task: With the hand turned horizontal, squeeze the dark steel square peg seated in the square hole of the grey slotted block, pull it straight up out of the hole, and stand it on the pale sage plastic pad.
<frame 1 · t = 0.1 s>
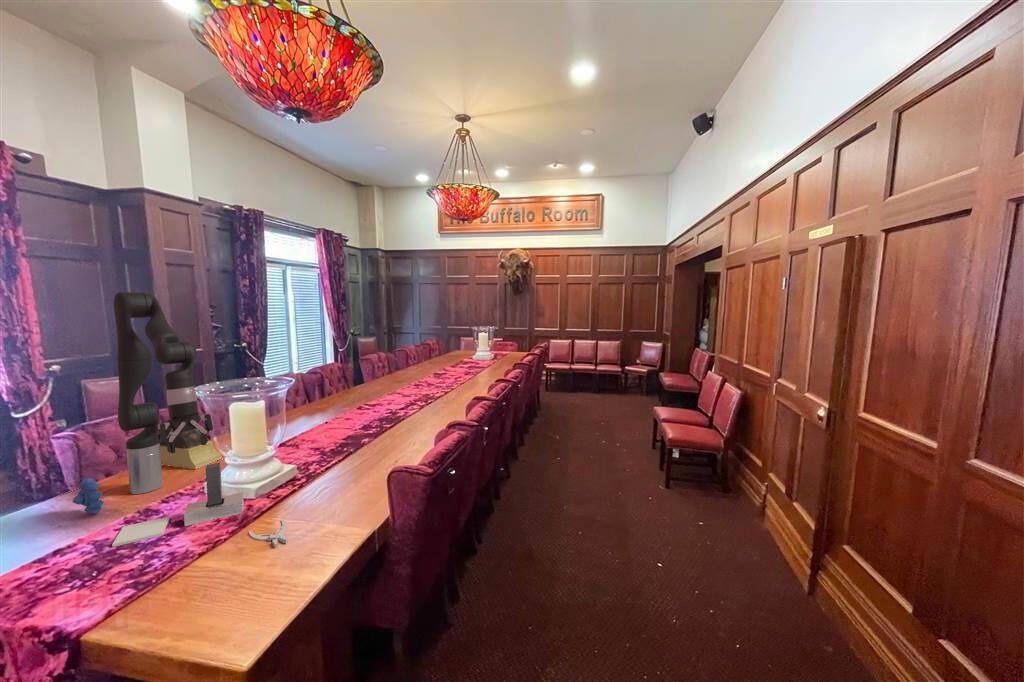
hand: (188, 448, 129), 22 cm above the table, tool pointing down, fingers open, 8 cm apart
sage pad: (142, 532, 119), on the table
seated figure statue: (185, 461, 175), on the table
grapes: (88, 514, 129), on the table
grey slotted block: (215, 514, 130), on the table
steel peg: (214, 489, 129), in the grey slotted block
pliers: (273, 537, 118), on the table
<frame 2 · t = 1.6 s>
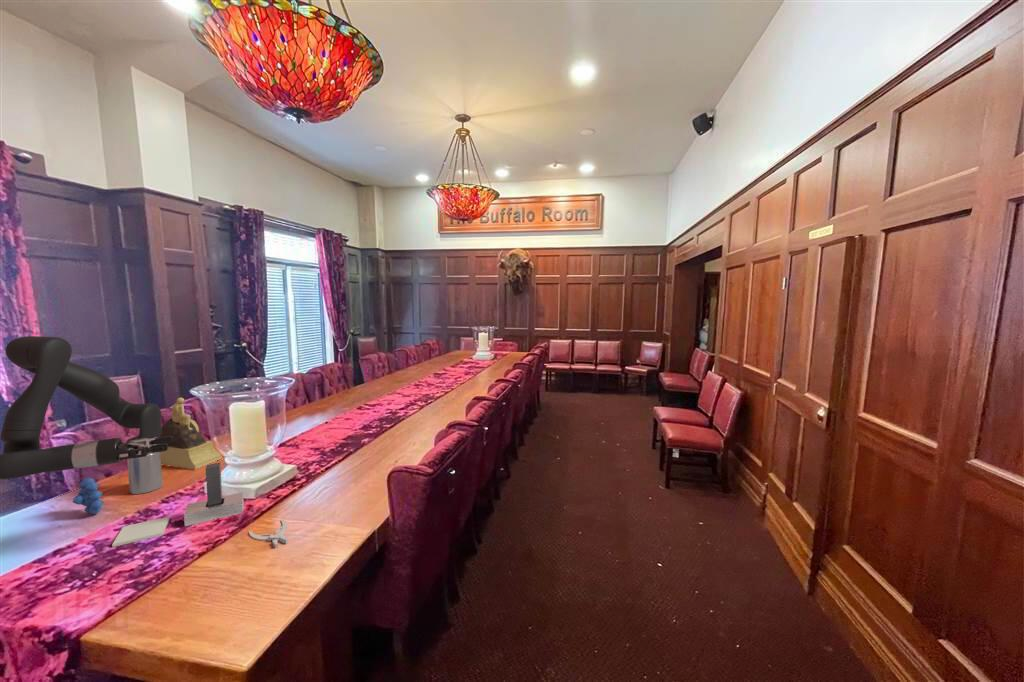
hand: (170, 443, 124), 26 cm above the table, tool horizontal, fingers open, 8 cm apart
nothing on the table moved.
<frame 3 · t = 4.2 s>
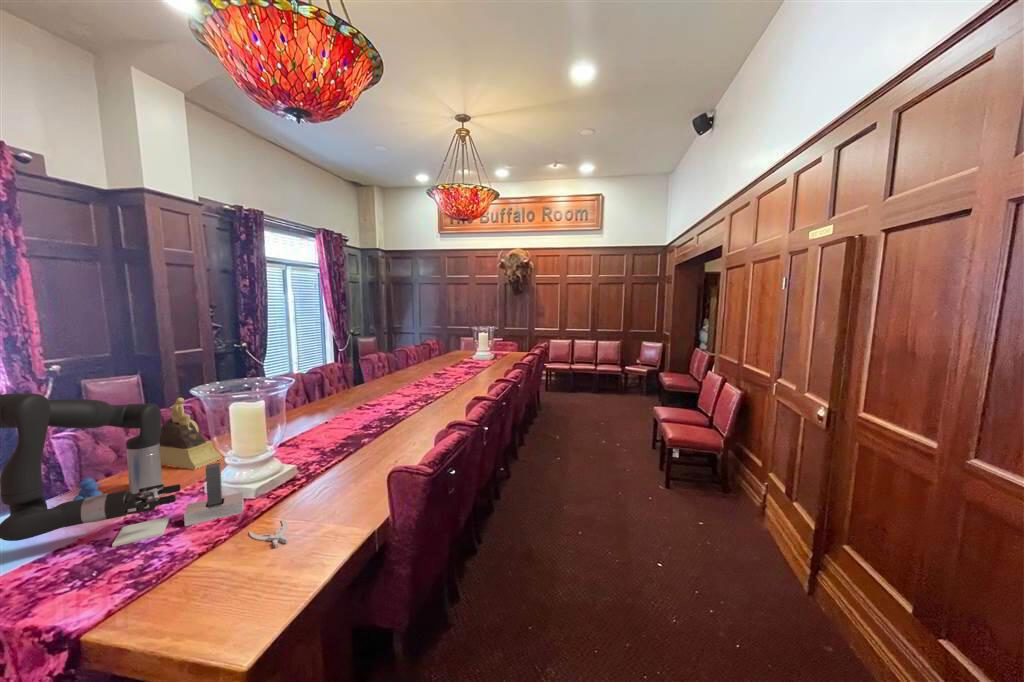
hand: (177, 492, 124), 10 cm above the table, tool horizontal, fingers open, 8 cm apart
nothing on the table moved.
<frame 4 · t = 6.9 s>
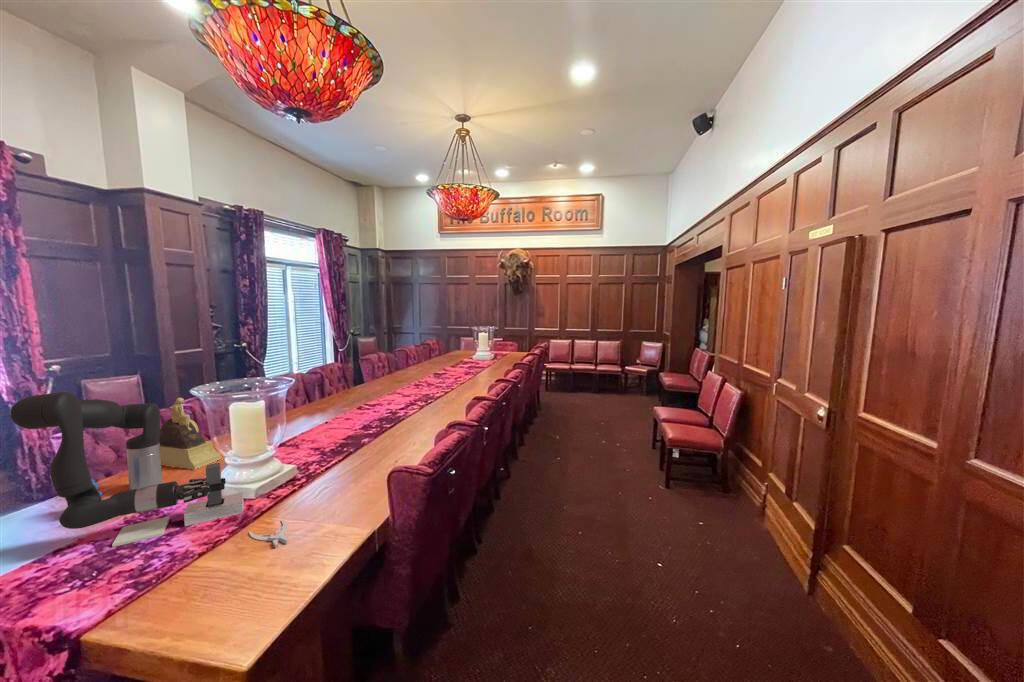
hand: (224, 483, 131), 10 cm above the table, tool horizontal, fingers closed on steel peg, 3 cm apart
steel peg: (214, 489, 129), in the grey slotted block, touching gripper
everything else where it was.
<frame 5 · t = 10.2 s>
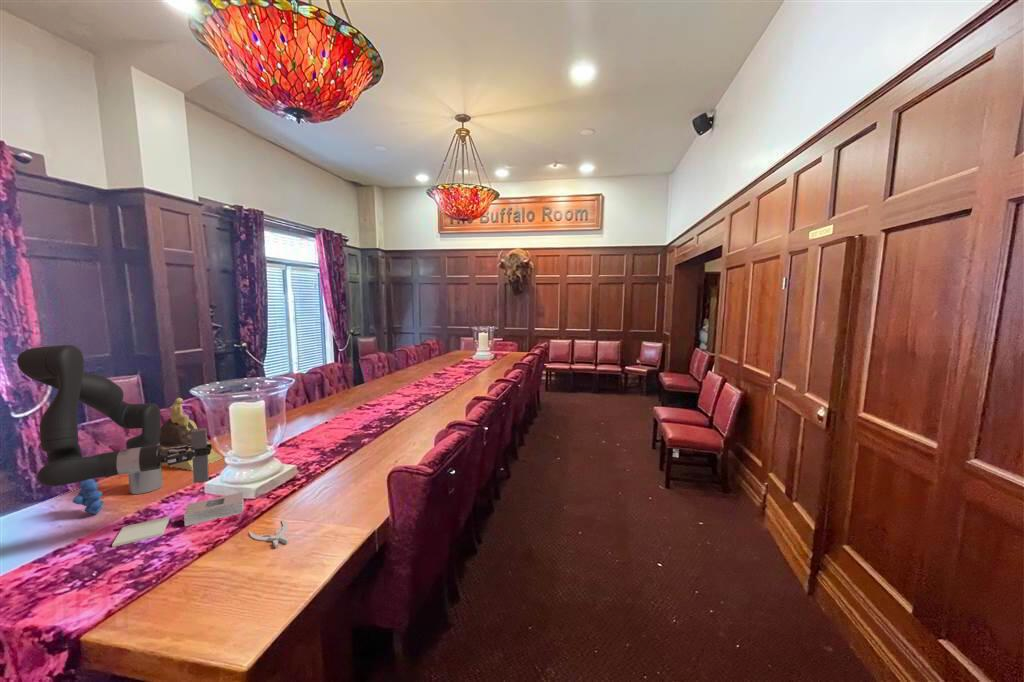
hand: (210, 448, 128), 23 cm above the table, tool horizontal, fingers closed on steel peg, 3 cm apart
steel peg: (200, 455, 126), point 21 cm above the table, touching gripper
everything else where it was.
when the fingers open (12 cm above the table, at t = 13.7 s): steel peg drops 1 cm, resting on sage pad.
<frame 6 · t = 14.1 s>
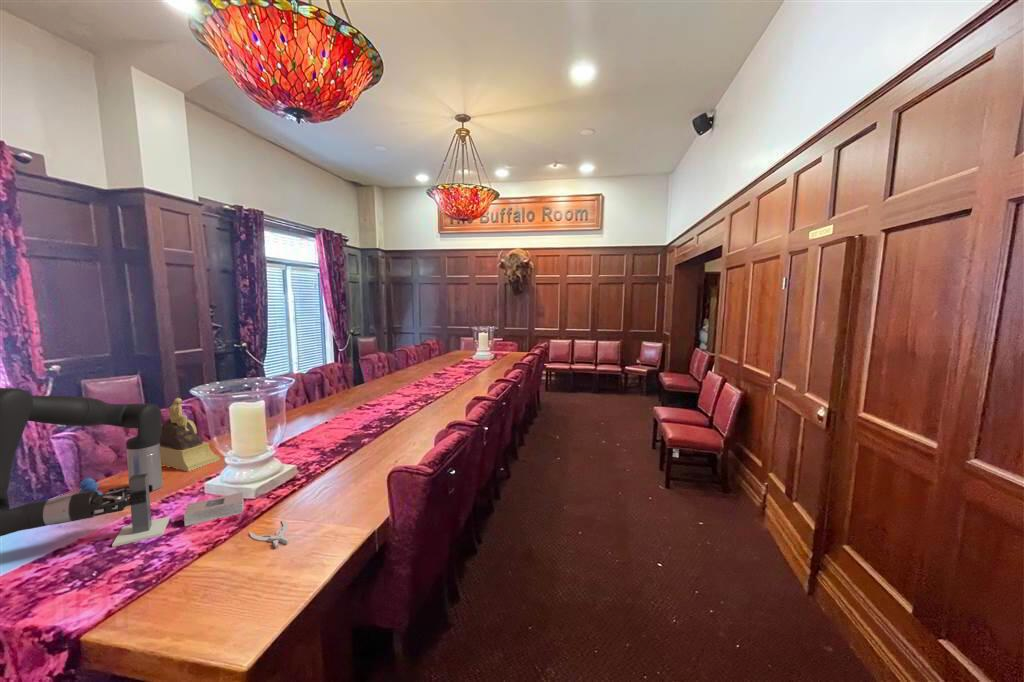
hand: (149, 493, 119), 12 cm above the table, tool horizontal, fingers open, 7 cm apart
steel peg: (140, 503, 118), on the sage pad, point 9 cm above the table
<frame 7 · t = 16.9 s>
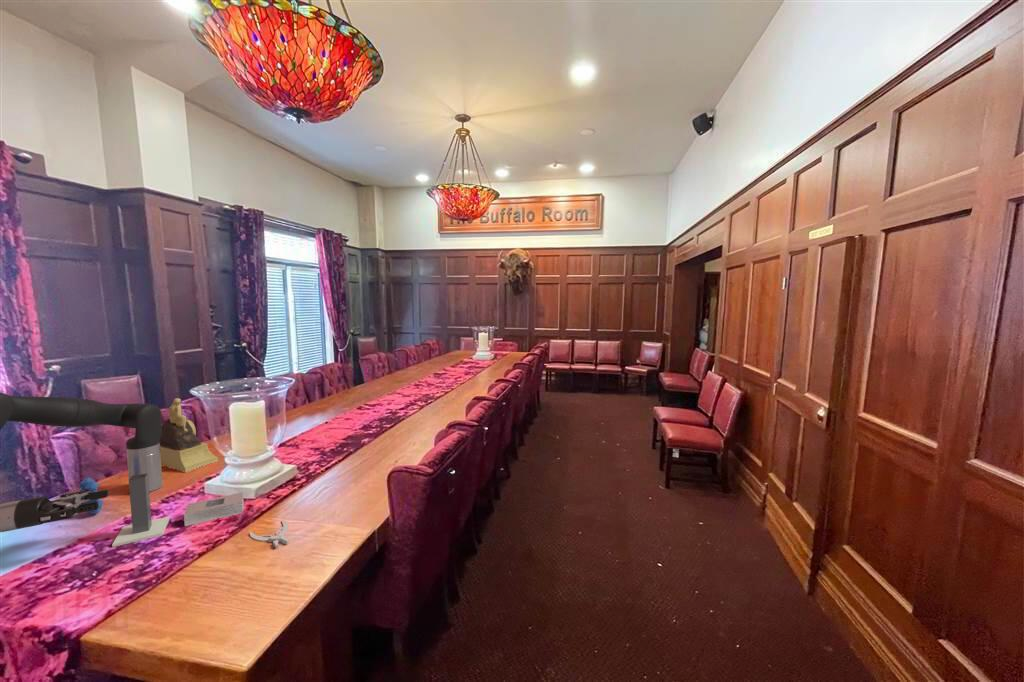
hand: (103, 498, 114), 13 cm above the table, tool horizontal, fingers open, 8 cm apart
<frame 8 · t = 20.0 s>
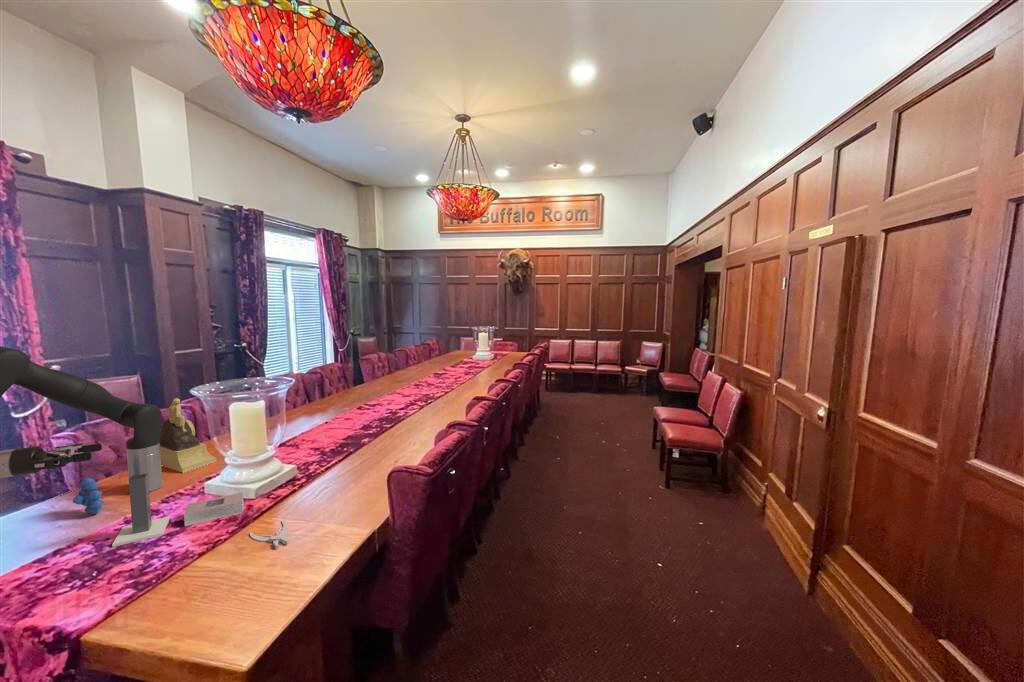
hand: (96, 451, 117), 26 cm above the table, tool horizontal, fingers open, 8 cm apart
at the end: steel peg inside the target area on the sage pad (0.1 cm from its centre), point 9.3 cm above the sage pad's base; steel peg tilted 0°; the gripper is holding nothing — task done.
